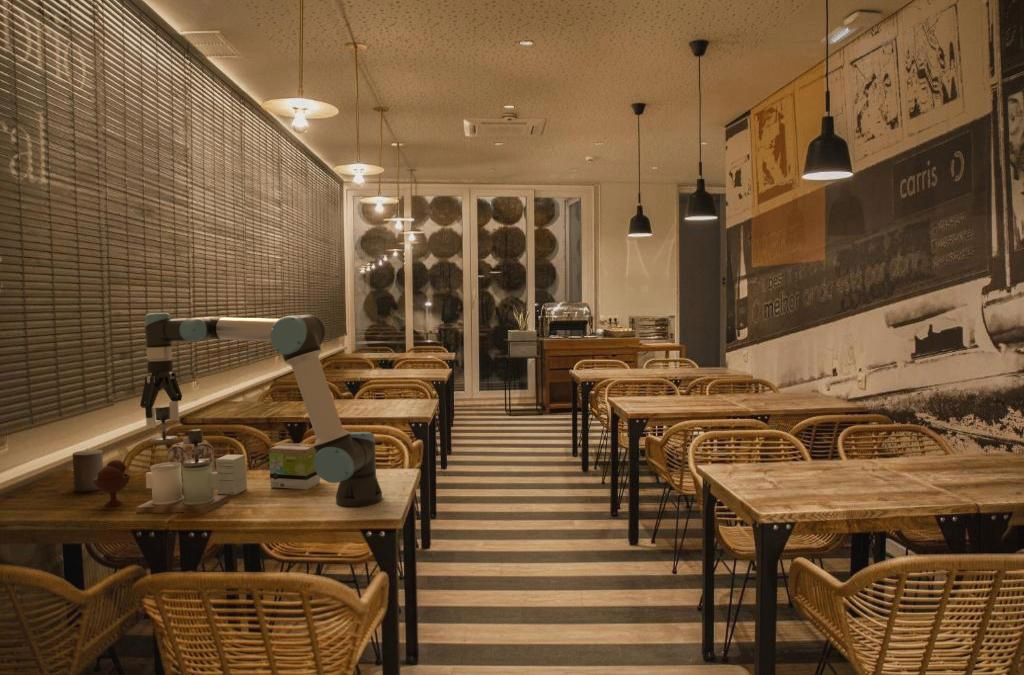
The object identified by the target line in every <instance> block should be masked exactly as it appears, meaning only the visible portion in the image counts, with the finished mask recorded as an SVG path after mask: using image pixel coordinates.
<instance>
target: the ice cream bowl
mask: <svg viewBox="0 0 1024 675" xmlns="http://www.w3.org/2000/svg"><path fill="white" fill-rule="evenodd" d="M126 470H127V466H126V464H125V463H124V461H122V460H119V459H114V460H111V461H109V462H107V463H106V465H105V466H103V469H102V470H101V471H99V472H98V477H96V478H95V479H93V481H94V484H95V486H96V487H97V488H98V489H99V490H100V491H102V492H104V493H107V494H109V497H110V500H108V501H106V502H105V503H104V507H107V508H111V507H118V506H121V505H124V503H123V501H122V500H120V499H118V498H117V493H118V492H121V491H122V490H123V489H124V488H125V487H126V485H128V484H129V481H130V479H131V473H127V472H126Z"/></svg>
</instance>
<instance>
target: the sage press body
mask: <svg viewBox="0 0 1024 675" xmlns="http://www.w3.org/2000/svg"><path fill="white" fill-rule="evenodd" d="M181 468H182V474H183V489H182V493H183V495H184V500H183V504H184V505H201V504H206V503H210V502H212V501H214V500H215V498H214V496H213V495H214V489H218V487H219V479H218V472H217V471H215V472H212V463H209V464H207V465H203V466H196V467H186V466H182V467H181Z"/></svg>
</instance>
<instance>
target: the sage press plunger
mask: <svg viewBox="0 0 1024 675" xmlns="http://www.w3.org/2000/svg"><path fill="white" fill-rule="evenodd" d="M203 432H204V431H203V429H202V428H195V429H189V430H188V431H187V437H188V443H189V444H194V455H195V459H194V460H189V461H185V462H184V466H186V467H196V466H203V465H207V464H209V463H210V460H209V459H199V456H198V443H202V442H203V440H204V438H203V437H204V436H203V435H204V434H203Z"/></svg>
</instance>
